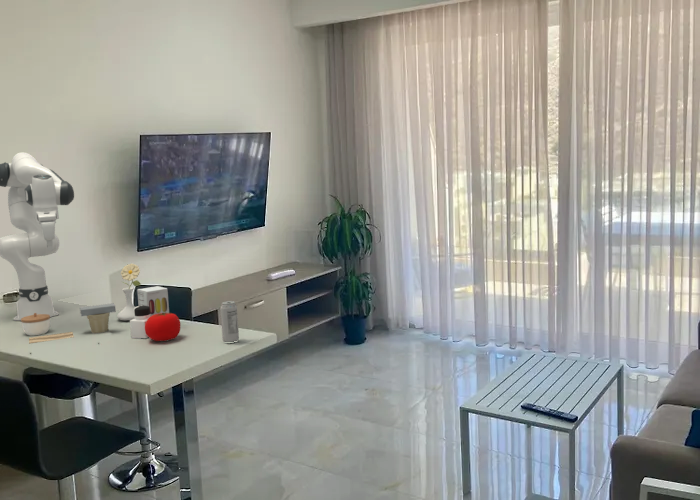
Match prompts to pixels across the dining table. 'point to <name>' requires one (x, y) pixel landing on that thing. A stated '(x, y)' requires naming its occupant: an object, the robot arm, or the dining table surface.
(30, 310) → the robot arm
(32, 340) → the wooden board
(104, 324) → the flower pot
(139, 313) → the medicine bottle
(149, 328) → the tomato
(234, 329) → the energy drink can
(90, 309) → the slate tile
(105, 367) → the dining table surface
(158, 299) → the supplement box
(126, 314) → the flower in vase
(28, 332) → the lidded jar
